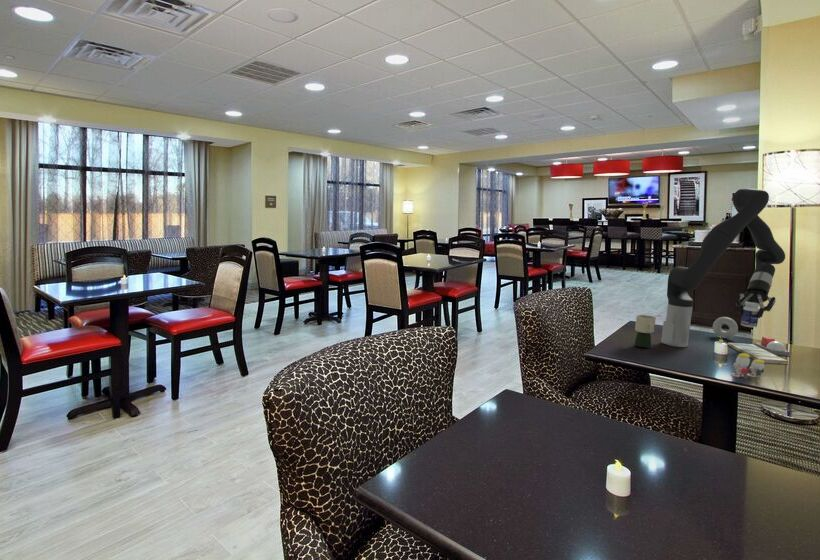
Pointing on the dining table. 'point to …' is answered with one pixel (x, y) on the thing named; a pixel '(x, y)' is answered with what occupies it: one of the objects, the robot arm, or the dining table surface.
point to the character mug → (644, 330)
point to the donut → (728, 321)
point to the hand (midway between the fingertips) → (749, 315)
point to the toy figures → (744, 361)
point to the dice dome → (772, 346)
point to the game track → (757, 353)
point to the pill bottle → (750, 314)
